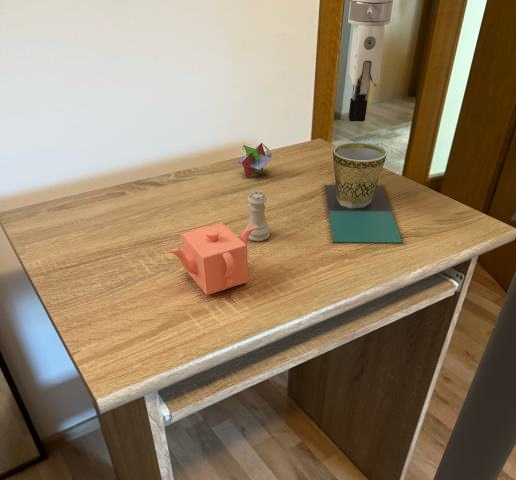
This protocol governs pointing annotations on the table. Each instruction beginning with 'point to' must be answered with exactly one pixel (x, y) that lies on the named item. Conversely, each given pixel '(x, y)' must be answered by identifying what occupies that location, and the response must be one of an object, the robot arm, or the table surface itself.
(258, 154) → the geometric puzzle
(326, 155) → the table surface
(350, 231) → the plate
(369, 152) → the ceramic cup
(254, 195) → the rook chess piece
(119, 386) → the table surface
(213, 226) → the teapot
